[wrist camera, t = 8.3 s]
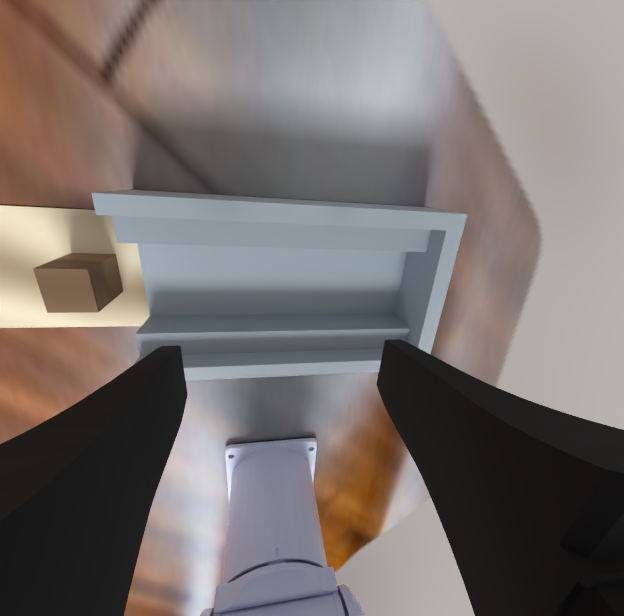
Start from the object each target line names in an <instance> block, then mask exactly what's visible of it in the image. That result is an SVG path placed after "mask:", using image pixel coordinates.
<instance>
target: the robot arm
mask: <svg viewBox="0 0 624 616" xmlns="http://www.w3.org/2000/svg"><path fill="white" fill-rule="evenodd" d="M377 387H378V390H379V392H380V395H381V398H382V400H383V403H384V406H385V408H386V410H387V412H388V414H389V416H390V418H391V419H392V421H393V423H394V425H395V427H396V429H397V430H398V432H399V434H400V436H401V438H402V440H403V441H404V443H405V445H406V447H407V449H408V450H409V452H410V454H411V456H412V458H413V460H414V461H415V463H416V465H417V467H418V469H419V471H420V473H421V475H422V477H423V480H424V482H425V484H426V487H427V489H428V491H429V494H430V496H431V498H432V501H433V503H434V505H435V508H436V510H437V513H438V515H439V518H440V520H441V523H442V525H443V528H444V530H445V533H446V535H447V538H448V541H449V543H450V546H451V548H452V551H453V554H454V557H455V559H456V562H457V565H458V568H459V570H460V573H461V576H462V578H463V581H464V584H465V587H466V590H467V593H468V596H469V599H470V602H471V605H472V608H473V611H474V614H475V616H624V430H622V429H617V428H614V427H610V426H607V425H603V424H600V423H596V422H593V421H589V420H585V419H582V418H579V417H576V416H572V415H569V414H566V413H562V412H560V411H557V410H554V409H551V408H548V407H545V406H542V405H539V404H536V403H533V402H531V401H528V400H525V399H523V398H520V397H518V396H515V395H513V394H510V393H508V392H506V391H503V390H501V389H498V388H496V387H494V386H492V385H489V384H487V383H485V382H483V381H481V380H479V379H476V378H474V377H472V376H470V375H468V374H466V373H464V372H462V371H460V370H458V369H456V368H454V367H453V366H451V365H449V364H447V363H445V362H443V361H441V360H439V359H438V358H436V357H434V356H432V355H430V354H429V353H427V352H425V351H423V350H421V349H419V348H417V347H416V346H414V345H412V344H410V343H408V342H405V341H403V340H401V339H395V340H385V342H384V347H383V353H382V358H381V363H380V369H379V374H378V380H377ZM186 399H187V389H186V381H185V374H184V367H183V359H182V352H181V346H160V347H159V348H157V349H156V350H154V351H153V352H151V353H150V354H148V355H147V356H145V357H144V358H143V359H141V360H140V361H139V362H137V363H136V364H134V365H133V366H132V367H130V368H129V369H127V370H126V371H125V372H123V373H122V374H120V375H119V376H117V377H116V378H115V379H113V380H112V381H110V382H109V383H107V384H106V385H104V386H103V387H101V388H100V389H98V390H96V391H95V392H93V393H92V394H90V395H89V396H87V397H86V398H84V399H83V400H81V401H80V402H78V403H76V404H75V405H73V406H71V407H70V408H68V409H66V410H64V411H63V412H61V413H59V414H58V415H56V416H54V417H52V418H50V419H49V420H47V421H45V422H43V423H41V424H40V425H38V426H36V427H34V428H32V429H30V430H28V431H26V432H25V433H23V434H21V435H18V436H16V437H14V438H12V439H10V440H8V441H6V442H4V443H2V444H0V616H124V612H125V607H126V603H127V599H128V594H129V590H130V586H131V582H132V578H133V574H134V570H135V566H136V562H137V558H138V554H139V550H140V546H141V542H142V538H143V535H144V531H145V527H146V523H147V519H148V516H149V512H150V508H151V505H152V502H153V499H154V496H155V493H156V490H157V487H158V484H159V482H160V479H161V476H162V474H163V471H164V468H165V466H166V463H167V460H168V457H169V455H170V452H171V449H172V447H173V444H174V441H175V438H176V436H177V433H178V430H179V427H180V424H181V421H182V417H183V413H184V408H185V404H186ZM310 447H311V448H310ZM316 450H317V441H316V439H315V438H304V439H292V440H280V441H268V442H257V443H245V444H233V445H228V446H227V447H226V448H225V461H226V474H227V487H228V501H229V511H228V521H227V532H226V542H225V553H224V563H223V574H222V584H221V585H219V586H217V587H216V595H215V605H214V608H209V609H204V610H203V611H202V613H201V615H200V616H364V614H363V611H362V608H361V606H360V603H359V601H358V599H357V598H356V597H355V595H353V593H352V592H351V591H350V589H349V588H348V587H347V586H346V585H340V586H337V583H336V577H335V572H334V568H333V567H327V562H326V556H325V550H324V544H323V539H322V533H321V527H320V521H319V515H318V510H317V504H316V498H315V492H314V487H313V481H314V471H315V461H316ZM230 454H233V455H230Z"/></svg>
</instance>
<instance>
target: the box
mask: <svg viewBox="0 0 624 616" xmlns="http://www.w3.org/2000/svg"><path fill="white" fill-rule="evenodd" d="M91 194H92V199H93V203H94V208H95V212H96V215H112V219H113V224H114V229H115V234H116V239H117V243H137V245H138V251H139V256H140V262H141V268H142V274H143V279H144V285H145V291H146V297H147V302H148V308H149V314H150V317H149V318H148V319H147V320H146V321H145V323H144V324H143V325H142V326H141V328H140V329H139V330H138V331H137V333H136V339H137V344H138V349H139V354H140V357H139V358H138V360H137V361H136V363H137V362H139V361H140V360H141V359H143V358H144V357H145V356H147V355H148V354H150V353H151V352H153V351H154V350H156V349H157V348H159V347H160V346H181V352H182V359H183V367H184V374H185V381H195V380H216V379H238V378H259V377H281V376H302V375H323V374H345V373H366V372H379V369H380V363H381V358H382V353H383V347H384V342H385V340H395V339H401V340H403V341H405V342H408V343H410V344H412V345H414V346H416V347H417V348H419V349H421V350H423V351H425V352H427V353H429V354H431V350H432V346H433V342H434V339H435V335H436V331H437V327H438V324H439V320H440V316H441V312H442V308H443V305H444V301H445V297H446V293H447V290H448V286H449V282H450V278H451V275H452V271H453V267H454V263H455V260H456V256H457V252H458V248H459V245H460V241H461V237H462V233H463V230H464V226H465V222H466V218H467V214H464V213H458V212H452V211H446V210H440V209H434V208H428V207H418V206H401V205H384V204H367V203H351V202H334V201H317V200H301V199H284V198H267V197H251V196H234V195H217V194H200V193H184V192H167V191H150V190H134V189H131V190H119V191H107V192H94V193H91ZM136 363H135V364H136Z"/></svg>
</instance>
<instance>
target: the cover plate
mask: <svg viewBox="0 0 624 616" xmlns="http://www.w3.org/2000/svg"><path fill="white" fill-rule="evenodd" d="M149 317H150V314H149V308H148V302H147V297H146V291H145V285H144V279H143V274H142V268H141V262H140V256H139V251H138V245H137V243H117V239H116V234H115V229H114V224H113V219H112V215H96V212H95V210H83V209H64V208H44V207H24V206H4V205H0V328H24V327H103V326H142V325H143V324H144V323H145V321H146V320H147V319H148V318H149Z"/></svg>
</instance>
